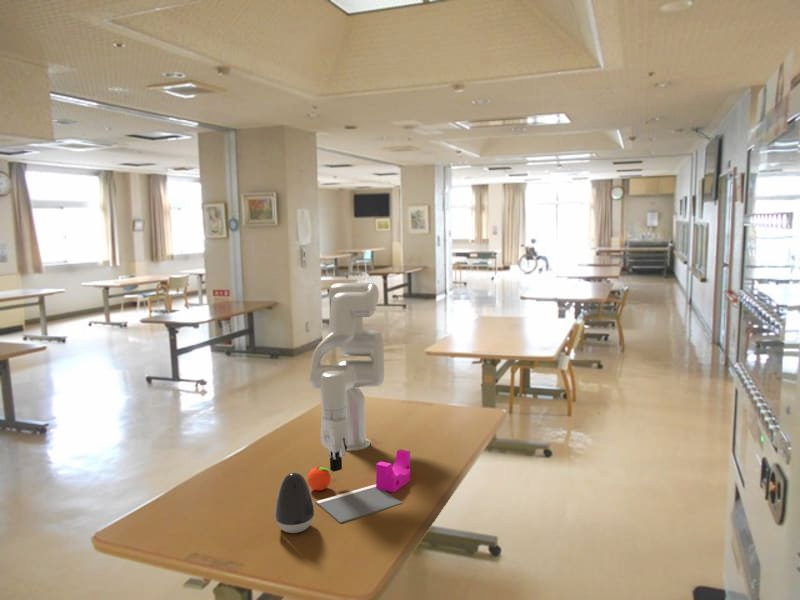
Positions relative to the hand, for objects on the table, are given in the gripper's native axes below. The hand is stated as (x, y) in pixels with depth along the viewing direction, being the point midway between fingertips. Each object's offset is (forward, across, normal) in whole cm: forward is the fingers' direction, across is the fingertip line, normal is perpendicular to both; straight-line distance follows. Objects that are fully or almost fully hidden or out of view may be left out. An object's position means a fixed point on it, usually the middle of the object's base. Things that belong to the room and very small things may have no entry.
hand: (336, 469), depth 183 cm
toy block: (+5, +9, +16) cm, 19 cm away
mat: (+5, +14, 0) cm, 15 cm away
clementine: (+5, 0, -5) cm, 7 cm away
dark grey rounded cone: (+5, +18, -21) cm, 28 cm away
